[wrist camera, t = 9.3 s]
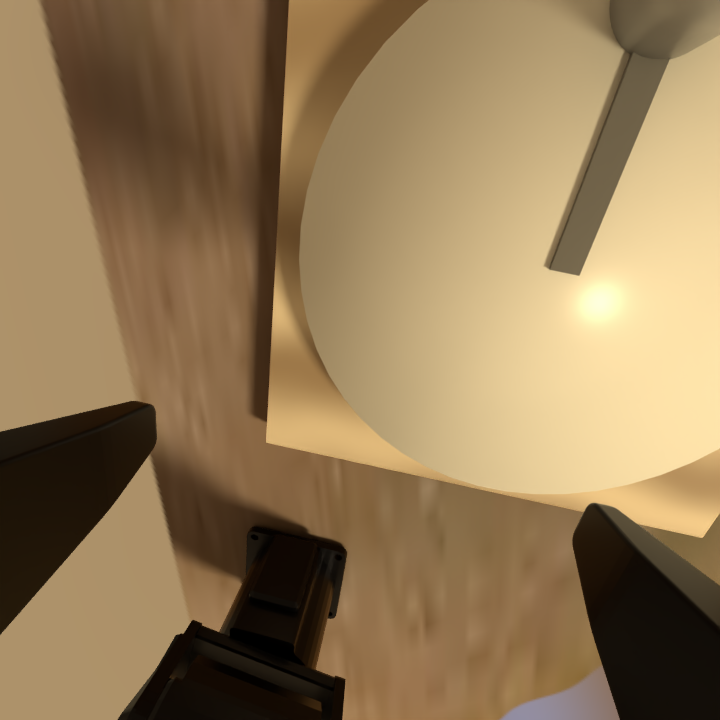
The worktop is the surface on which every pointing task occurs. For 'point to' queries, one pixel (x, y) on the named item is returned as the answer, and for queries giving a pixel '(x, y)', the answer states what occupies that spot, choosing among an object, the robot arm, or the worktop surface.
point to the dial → (527, 241)
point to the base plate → (289, 324)
